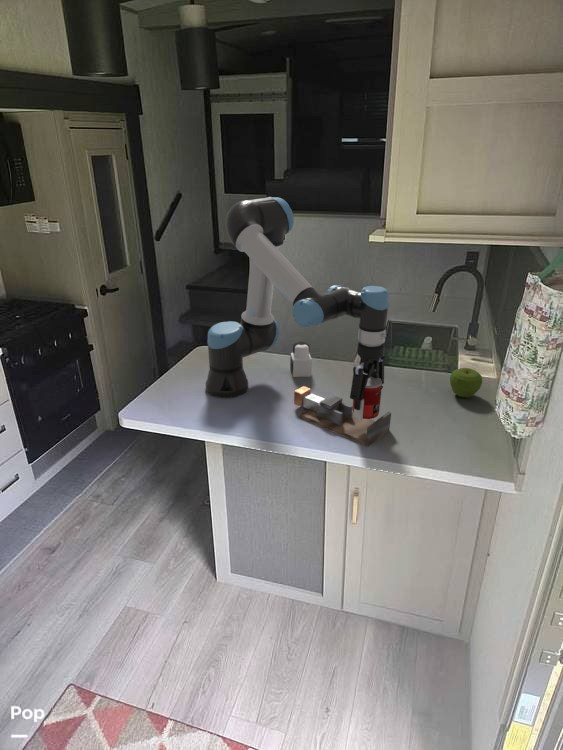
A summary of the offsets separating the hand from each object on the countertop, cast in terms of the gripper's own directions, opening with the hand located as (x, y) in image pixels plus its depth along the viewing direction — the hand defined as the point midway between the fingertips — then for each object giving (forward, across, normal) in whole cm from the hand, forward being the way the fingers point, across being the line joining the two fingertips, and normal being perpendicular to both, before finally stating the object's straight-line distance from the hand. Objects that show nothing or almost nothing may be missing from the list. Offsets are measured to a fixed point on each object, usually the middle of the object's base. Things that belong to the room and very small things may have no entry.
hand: (365, 412), depth 155 cm
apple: (+7, +43, -13) cm, 46 cm away
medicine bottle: (+7, +20, +41) cm, 46 cm away
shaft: (+5, 0, +18) cm, 19 cm away
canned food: (0, 0, 0) cm, 0 cm away
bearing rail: (+7, 0, +8) cm, 10 cm away
